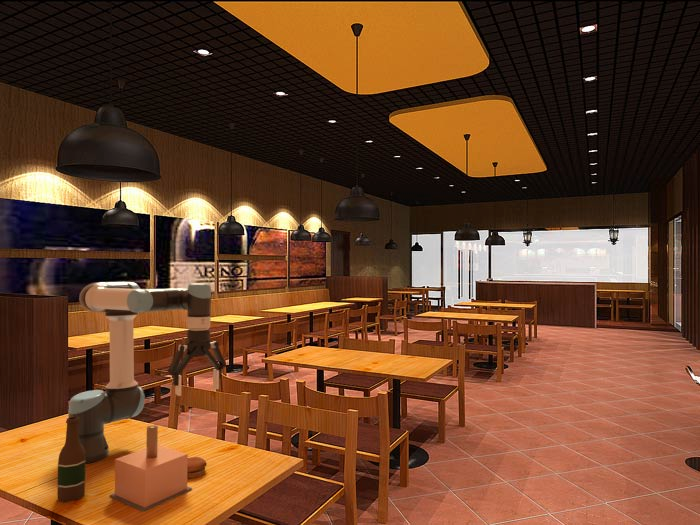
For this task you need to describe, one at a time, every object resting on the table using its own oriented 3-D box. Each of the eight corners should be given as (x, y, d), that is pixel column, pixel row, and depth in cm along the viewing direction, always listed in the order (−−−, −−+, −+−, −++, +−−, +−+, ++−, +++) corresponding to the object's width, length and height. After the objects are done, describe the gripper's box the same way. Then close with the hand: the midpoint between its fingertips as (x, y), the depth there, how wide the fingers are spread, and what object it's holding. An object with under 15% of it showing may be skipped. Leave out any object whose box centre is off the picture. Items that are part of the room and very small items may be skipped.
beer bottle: (64, 491, 153) (65, 414, 153) (90, 490, 153) (91, 414, 154) (51, 503, 145) (52, 422, 146) (78, 502, 146) (80, 421, 146)
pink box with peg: (114, 494, 150) (115, 428, 150) (157, 477, 163) (158, 416, 163) (144, 507, 142) (145, 438, 142) (187, 488, 154) (187, 424, 155)
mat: (109, 496, 150) (109, 494, 150) (157, 477, 164) (157, 475, 164) (143, 511, 140) (143, 509, 140) (191, 489, 155) (191, 488, 155)
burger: (200, 479, 163) (200, 465, 163) (172, 479, 163) (173, 465, 163) (209, 467, 172) (210, 454, 173) (183, 467, 173) (183, 454, 173)
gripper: (167, 333, 154) (166, 400, 154) (236, 327, 172) (235, 387, 172) (157, 330, 160) (156, 395, 160) (225, 325, 177) (224, 384, 177)
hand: (197, 391), depth 166 cm, fingers open, 13 cm apart
